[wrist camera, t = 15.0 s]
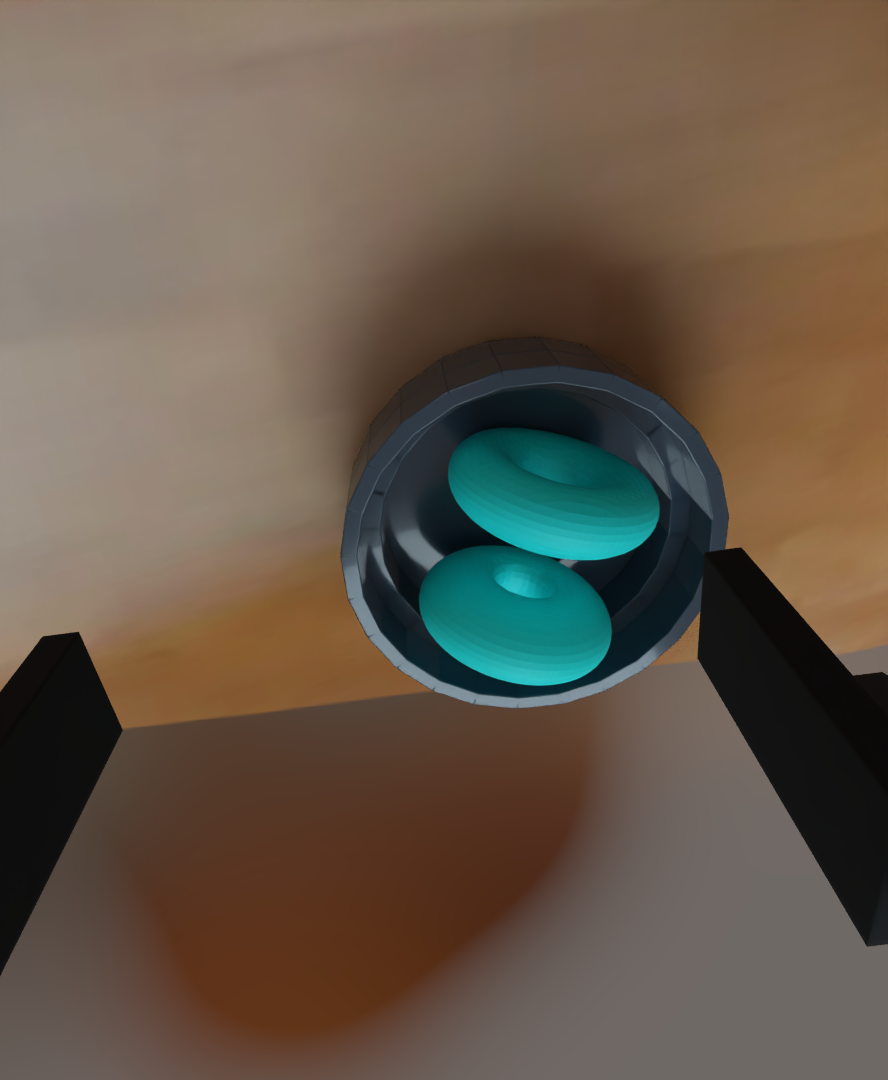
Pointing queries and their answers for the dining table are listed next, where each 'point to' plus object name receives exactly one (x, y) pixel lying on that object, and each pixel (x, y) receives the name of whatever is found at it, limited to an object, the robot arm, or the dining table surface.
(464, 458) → the donuts
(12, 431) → the dining table surface
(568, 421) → the bowl
